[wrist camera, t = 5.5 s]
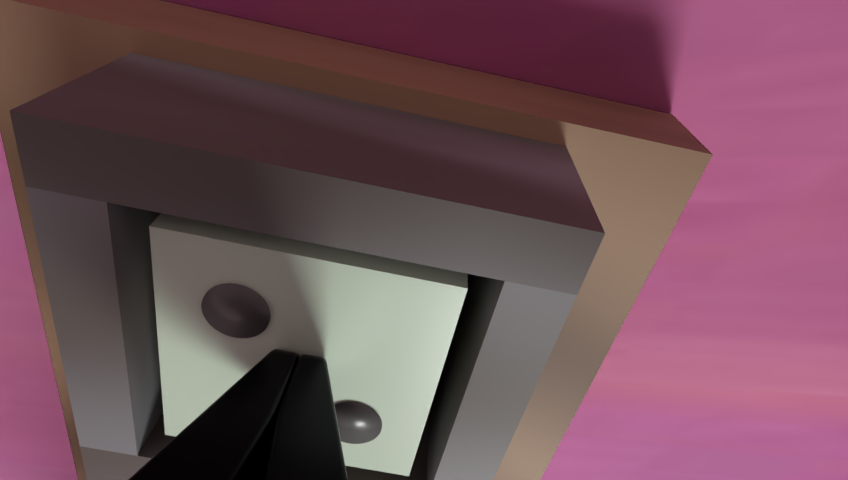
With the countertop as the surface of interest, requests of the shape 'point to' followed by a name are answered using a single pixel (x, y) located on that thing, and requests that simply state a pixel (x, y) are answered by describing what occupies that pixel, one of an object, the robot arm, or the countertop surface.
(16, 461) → the countertop surface
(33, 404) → the countertop surface
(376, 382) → the tile two
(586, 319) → the panel
